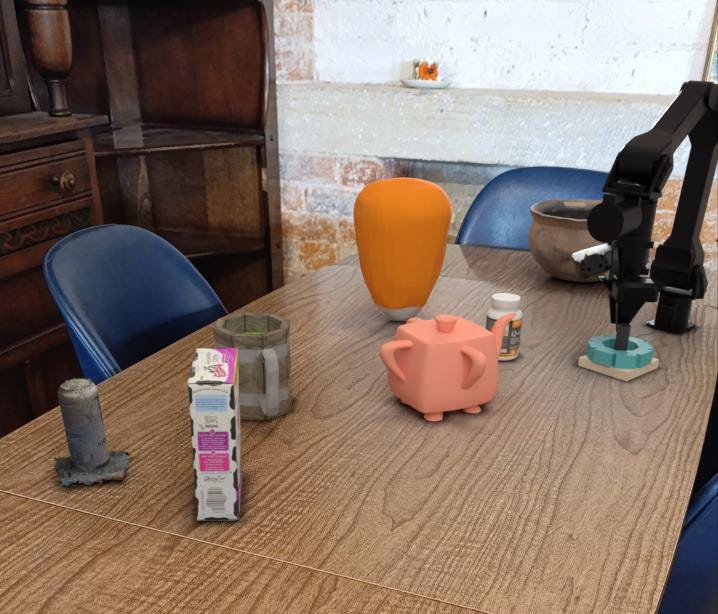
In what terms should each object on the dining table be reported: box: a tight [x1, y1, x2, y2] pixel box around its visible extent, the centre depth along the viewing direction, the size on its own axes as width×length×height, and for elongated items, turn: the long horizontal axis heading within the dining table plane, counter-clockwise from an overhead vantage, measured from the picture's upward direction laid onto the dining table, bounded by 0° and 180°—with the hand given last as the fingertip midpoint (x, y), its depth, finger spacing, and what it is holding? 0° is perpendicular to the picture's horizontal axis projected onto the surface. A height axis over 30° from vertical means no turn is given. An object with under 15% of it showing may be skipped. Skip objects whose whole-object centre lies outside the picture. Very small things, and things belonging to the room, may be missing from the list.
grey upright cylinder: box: [53, 377, 131, 488], centre depth 103 cm, size 9×8×12 cm
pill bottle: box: [485, 292, 524, 362], centre depth 142 cm, size 6×6×10 cm
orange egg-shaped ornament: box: [352, 177, 453, 322], centre depth 154 cm, size 17×17×25 cm
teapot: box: [378, 313, 517, 422], centre depth 123 cm, size 17×16×13 cm
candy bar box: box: [187, 347, 243, 522], centre depth 97 cm, size 11×5×16 cm, turn 5°
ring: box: [585, 334, 655, 369], centre depth 140 cm, size 10×10×2 cm
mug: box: [212, 312, 293, 421], centre depth 120 cm, size 16×11×12 cm
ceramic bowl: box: [527, 198, 607, 283], centre depth 185 cm, size 22×22×15 cm
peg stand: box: [577, 323, 660, 382], centre depth 139 cm, size 9×9×7 cm
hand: (616, 328), depth 142 cm, fingers open, 4 cm apart
